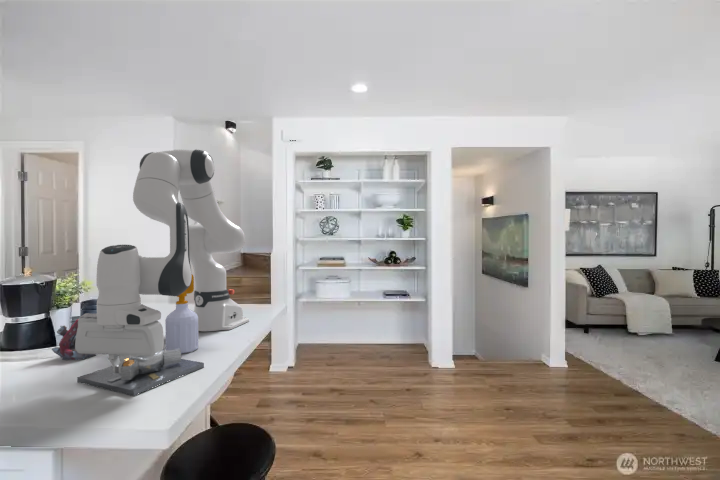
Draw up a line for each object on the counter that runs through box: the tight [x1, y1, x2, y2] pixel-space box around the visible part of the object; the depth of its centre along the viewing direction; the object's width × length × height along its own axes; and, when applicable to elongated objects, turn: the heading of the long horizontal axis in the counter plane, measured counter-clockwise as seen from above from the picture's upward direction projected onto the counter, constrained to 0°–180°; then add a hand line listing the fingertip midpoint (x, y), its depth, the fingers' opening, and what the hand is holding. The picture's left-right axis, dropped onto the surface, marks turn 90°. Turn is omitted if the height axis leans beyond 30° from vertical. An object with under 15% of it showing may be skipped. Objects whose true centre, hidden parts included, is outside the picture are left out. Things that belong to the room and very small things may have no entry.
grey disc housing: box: [119, 348, 182, 380], centre depth 97 cm, size 14×16×4 cm
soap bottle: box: [164, 273, 199, 355], centre depth 119 cm, size 9×9×25 cm
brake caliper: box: [51, 318, 97, 361], centre depth 114 cm, size 11×11×12 cm
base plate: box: [76, 358, 205, 397], centre depth 99 cm, size 20×20×1 cm
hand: (119, 372), depth 92 cm, fingers closed
